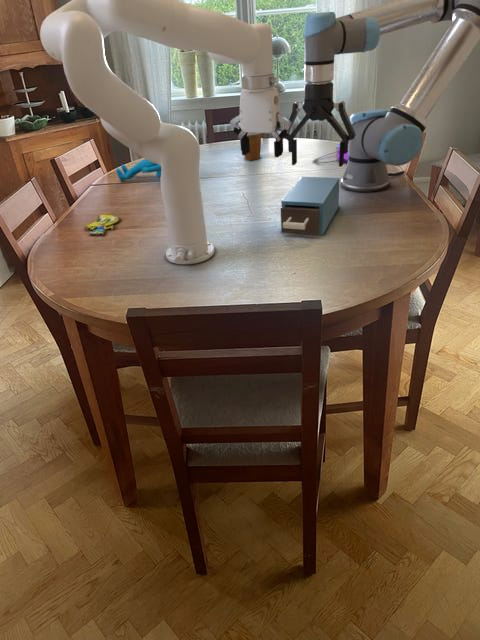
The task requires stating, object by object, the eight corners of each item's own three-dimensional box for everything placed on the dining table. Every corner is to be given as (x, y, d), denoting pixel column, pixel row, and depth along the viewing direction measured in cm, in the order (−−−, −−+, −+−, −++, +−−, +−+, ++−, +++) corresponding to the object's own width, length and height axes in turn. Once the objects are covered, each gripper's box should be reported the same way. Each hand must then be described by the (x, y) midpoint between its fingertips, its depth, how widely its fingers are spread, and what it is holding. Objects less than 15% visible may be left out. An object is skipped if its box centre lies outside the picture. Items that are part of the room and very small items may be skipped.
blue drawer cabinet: (322, 235, 128) (323, 203, 124) (282, 232, 132) (281, 200, 127) (338, 207, 145) (339, 177, 140) (302, 205, 149) (302, 176, 144)
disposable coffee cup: (238, 160, 197) (235, 130, 191) (244, 154, 205) (242, 125, 198) (260, 160, 194) (258, 129, 188) (266, 154, 202) (264, 124, 195)
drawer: (312, 244, 121) (312, 218, 118) (274, 241, 125) (273, 216, 121) (333, 208, 141) (334, 185, 138) (300, 206, 145) (300, 184, 141)
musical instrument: (326, 170, 180) (372, 154, 183) (325, 164, 178) (371, 148, 182) (297, 161, 200) (339, 146, 204) (296, 155, 199) (338, 141, 202)
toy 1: (75, 232, 142) (99, 213, 154) (76, 234, 142) (100, 215, 154) (106, 232, 139) (128, 213, 151) (107, 235, 140) (128, 216, 152)
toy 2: (125, 157, 192) (192, 136, 181) (136, 182, 197) (202, 163, 186) (107, 170, 178) (179, 147, 168) (120, 197, 183) (190, 177, 173)
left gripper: (297, 80, 115) (298, 153, 124) (235, 81, 123) (240, 149, 132) (283, 85, 110) (285, 161, 119) (220, 85, 118) (226, 156, 127)
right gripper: (369, 78, 124) (363, 162, 136) (277, 81, 133) (279, 159, 144) (365, 83, 118) (359, 169, 130) (269, 85, 127) (271, 166, 138)
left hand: (262, 154), depth 126 cm, fingers open, 9 cm apart
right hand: (317, 164), depth 137 cm, fingers open, 13 cm apart
